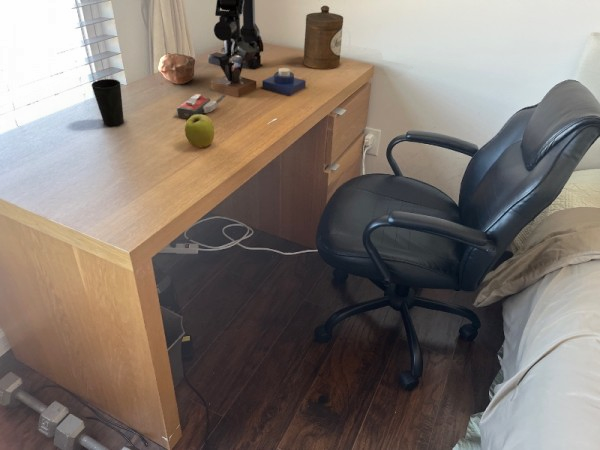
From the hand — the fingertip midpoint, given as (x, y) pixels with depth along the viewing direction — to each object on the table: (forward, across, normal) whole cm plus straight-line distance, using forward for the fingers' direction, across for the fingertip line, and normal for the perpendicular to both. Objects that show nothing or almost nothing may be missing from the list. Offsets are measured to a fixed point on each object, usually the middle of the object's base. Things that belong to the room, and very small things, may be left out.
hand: (233, 79), depth 166 cm
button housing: (+4, +12, -13) cm, 18 cm away
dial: (0, 0, 0) cm, 0 cm away
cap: (-1, +12, -13) cm, 18 cm away
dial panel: (+4, 0, 0) cm, 4 cm away
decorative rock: (+4, -6, +21) cm, 22 cm away
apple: (+4, -39, -20) cm, 44 cm away
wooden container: (+4, +45, -9) cm, 46 cm away
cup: (+4, -44, +10) cm, 45 cm away
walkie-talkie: (+4, -20, -3) cm, 20 cm away
